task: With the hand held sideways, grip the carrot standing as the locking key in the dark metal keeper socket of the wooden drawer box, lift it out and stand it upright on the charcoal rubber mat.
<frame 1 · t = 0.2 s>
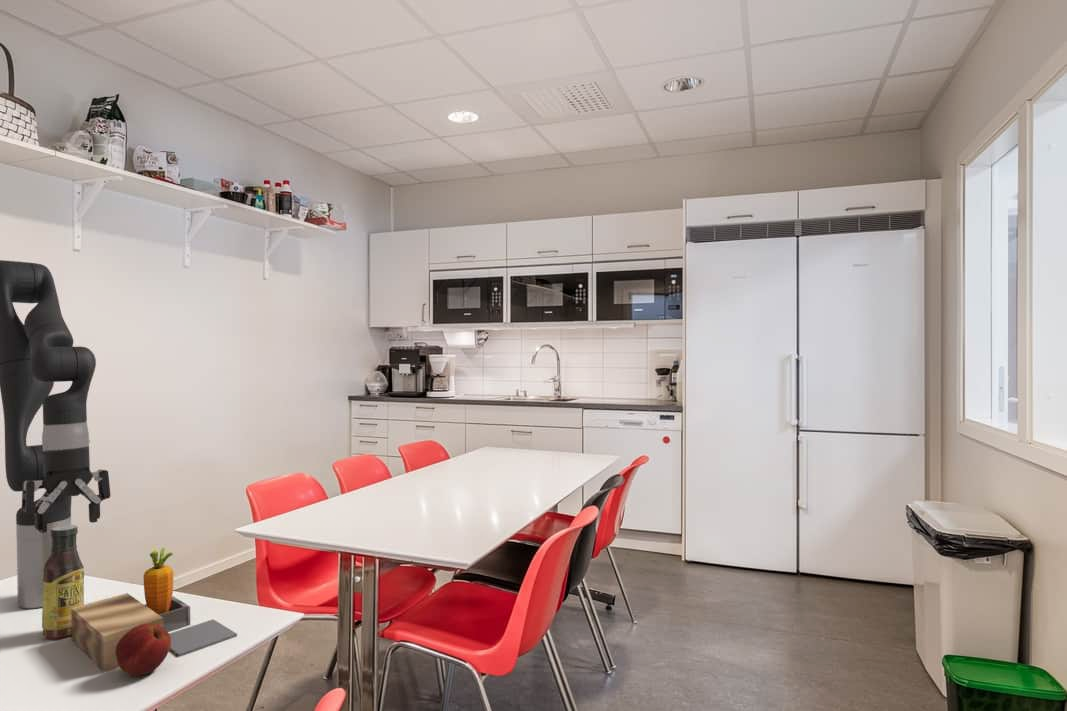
hand: (68, 527, 125), 18 cm above the table, tool pointing down, fingers open, 8 cm apart
rubber mat: (197, 637, 115), on the table
sauce bottle: (64, 634, 118), on the table
carrot: (159, 627, 121), resting in wooden drawer box
wooden drawer box: (116, 646, 112), on the table
apple: (142, 674, 103), on the table
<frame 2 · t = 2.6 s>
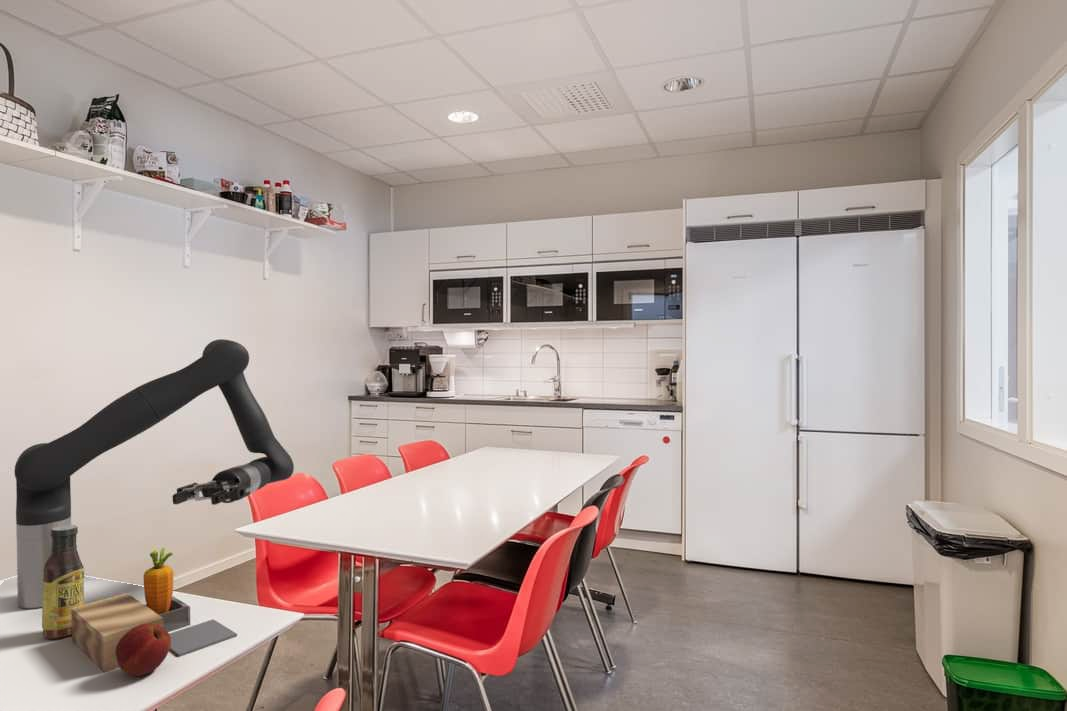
hand: (193, 499, 131), 22 cm above the table, tool horizontal, fingers open, 8 cm apart
nothing on the table moved.
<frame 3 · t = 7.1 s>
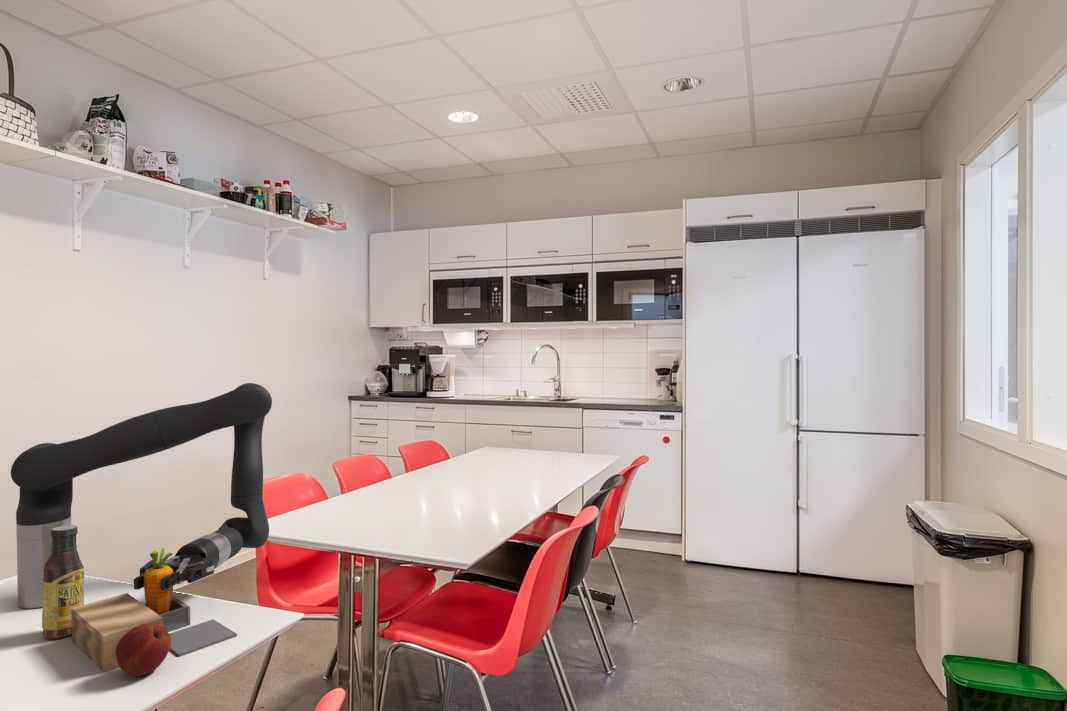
hand: (149, 584, 118), 9 cm above the table, tool horizontal, fingers closed on carrot, 4 cm apart
carrot: (159, 627, 121), resting in wooden drawer box, touching gripper
everything else where it was.
when the fingers open (11 cm above the table, at t = 11.5 s): carrot drops 1 cm, resting on rubber mat.
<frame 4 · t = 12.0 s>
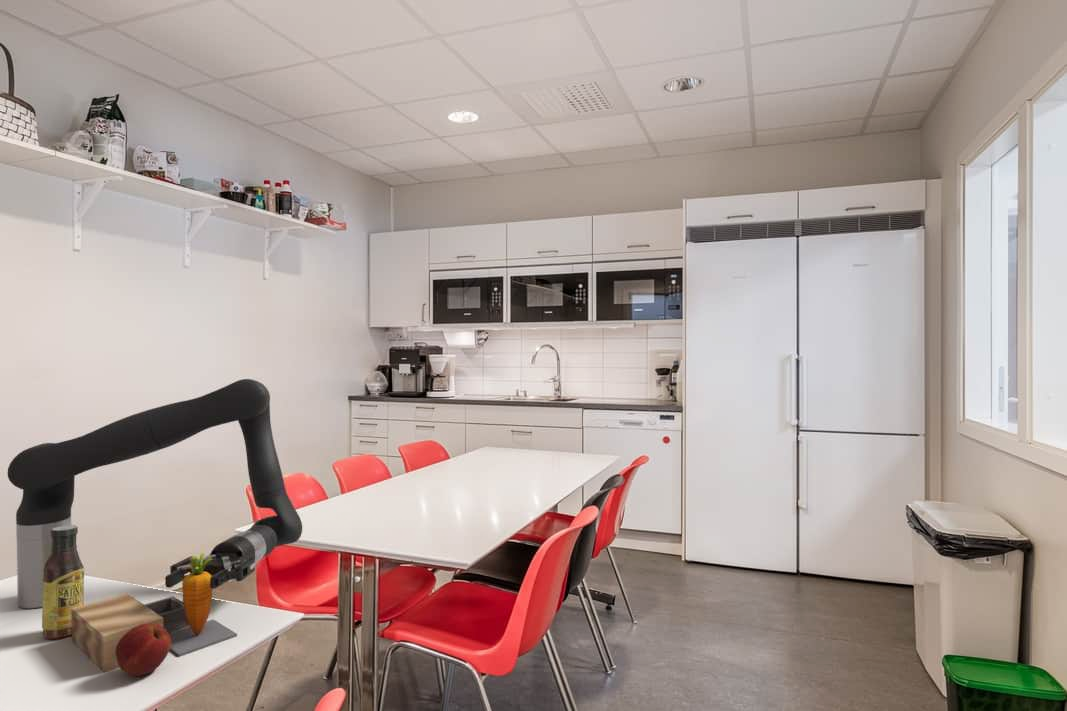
hand: (189, 582, 113), 11 cm above the table, tool horizontal, fingers open, 8 cm apart
carrot: (197, 636, 116), resting on rubber mat
everything else where it was.
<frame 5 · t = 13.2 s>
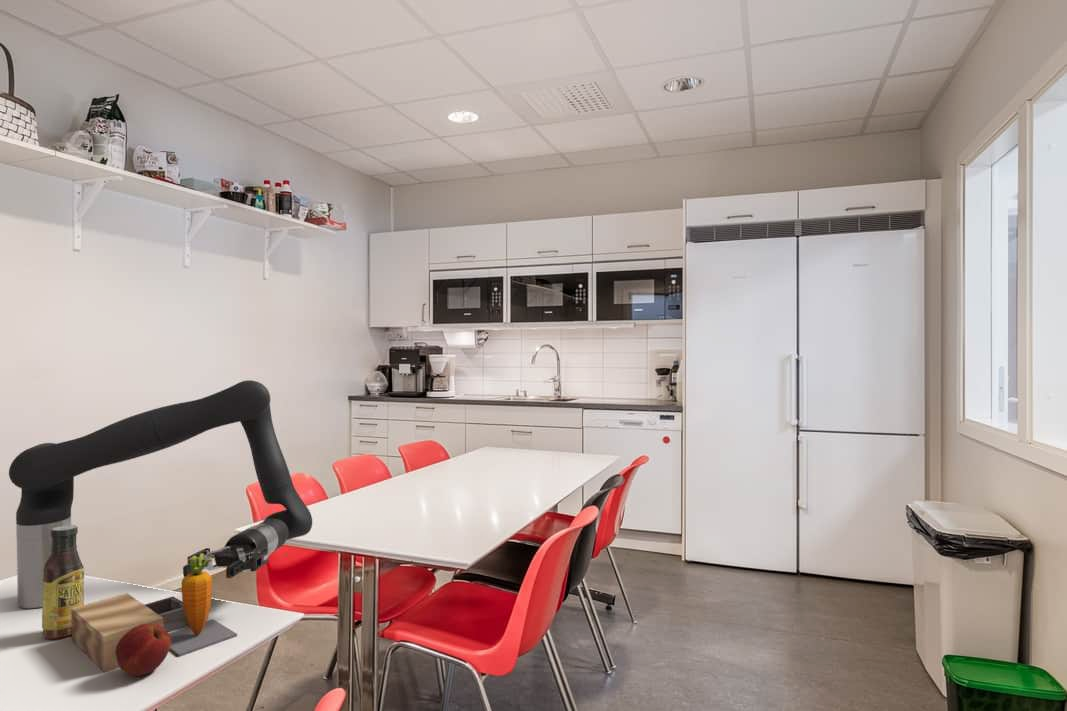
hand: (206, 572, 118), 11 cm above the table, tool horizontal, fingers open, 8 cm apart
nothing on the table moved.
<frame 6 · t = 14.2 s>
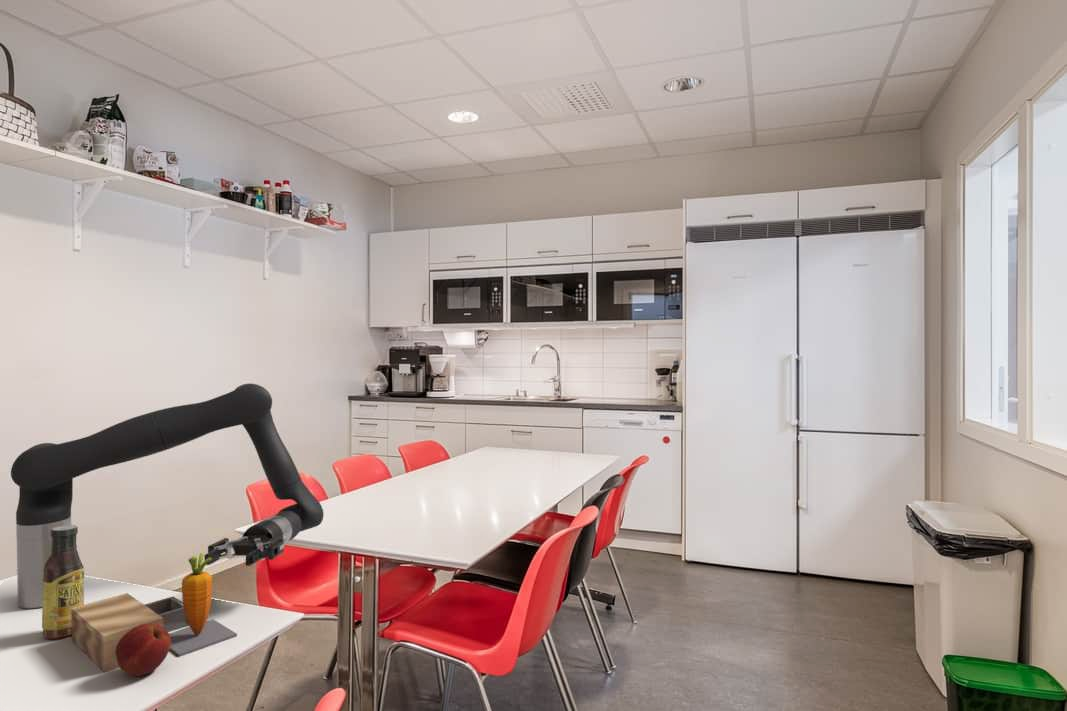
hand: (227, 560, 125), 11 cm above the table, tool horizontal, fingers open, 8 cm apart
nothing on the table moved.
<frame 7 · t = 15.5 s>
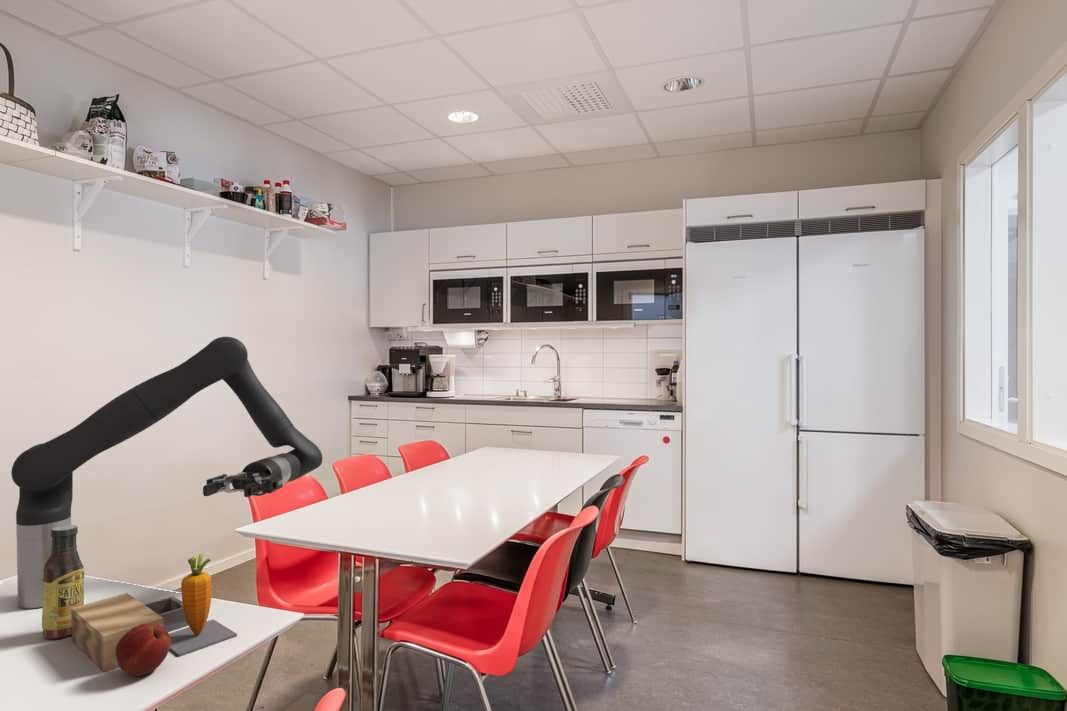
hand: (225, 491, 125), 25 cm above the table, tool horizontal, fingers open, 8 cm apart
nothing on the table moved.
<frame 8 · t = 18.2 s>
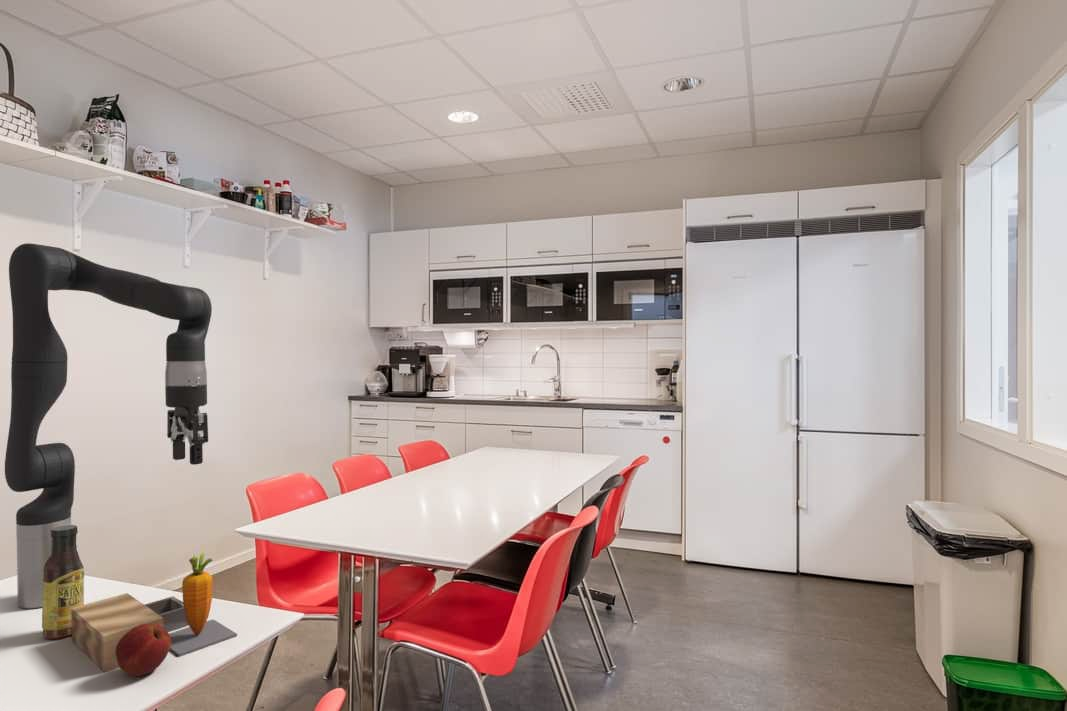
hand: (187, 461, 129), 30 cm above the table, tool pointing down, fingers open, 8 cm apart
nothing on the table moved.
at the end: carrot inside the target area (0.1 cm from its centre), resting on rubber mat; carrot tilted 1°; the gripper is holding nothing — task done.
